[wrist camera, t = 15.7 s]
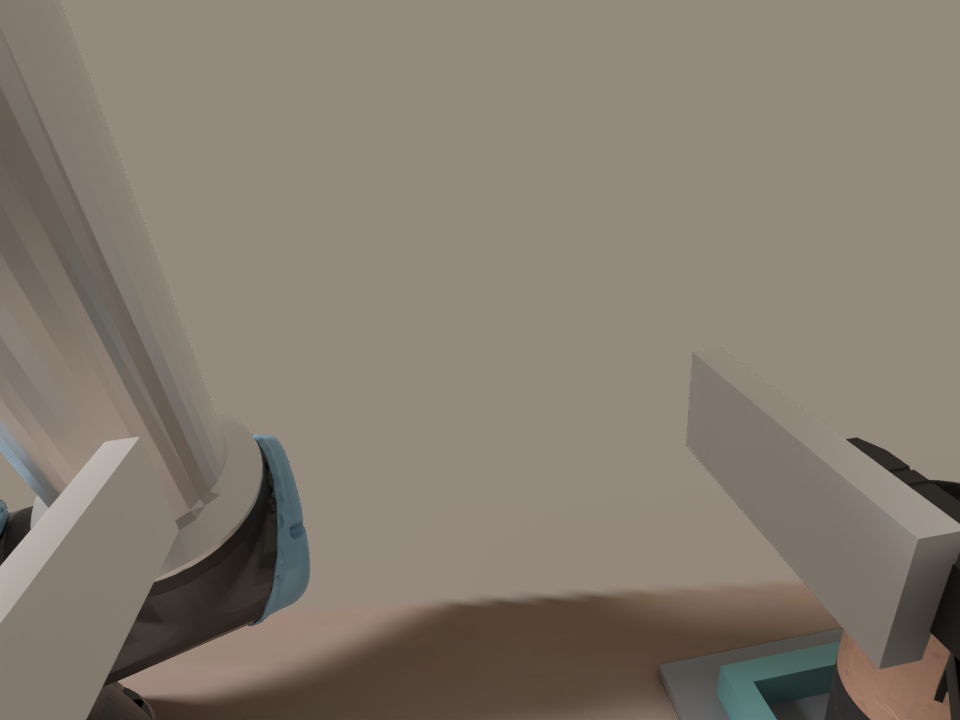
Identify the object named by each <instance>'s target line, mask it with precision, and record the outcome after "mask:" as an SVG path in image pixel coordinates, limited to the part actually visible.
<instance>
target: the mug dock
mask: <svg viewBox="0 0 960 720" xmlns="http://www.w3.org/2000/svg"><path fill="white" fill-rule="evenodd" d="M843 631H844V629H843V628H838V629H833V630H828V631H823V632H818V633H813V634H808V635H803V636H798V637H793V638H788V639H784V640H779V641H774V642H769V643H764V644H759V645H754V646H749V647H744V648H739V649H734V650H729V651H724V652H719V653H714V654H710V655H705V656H700V657H695V658H690V659H685V660H680V661H675V662H670V663H665V664H660V665H659V671H658V674H659V676H660V678H661V680H662V682H663V685H664V687H665V689H666V691H667V693H668V695H669V697H670V699H671V702H672V704H673V706H674V708H675V710H676V712H677V714H678V716H679V719H680V720H824V719H825V714H826V709H827V704H828V699H829V694H830V689H831V683H832V678H833V673H834V668H835V663H836V658H837V654H838V649H839V645H840V642H841V638H842V634H843Z"/></svg>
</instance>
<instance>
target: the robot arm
mask: <svg viewBox="0 0 960 720" xmlns="http://www.w3.org/2000/svg"><path fill="white" fill-rule="evenodd" d="M686 446H687V448H688V449H689V450H690V451H691V452H692V453H693V455H694V456H695V457H696V458H697V459H698V460H699V462H700V463H701V464H702V465H703V466H704V467H705V468H706V470H707V471H708V472H709V473H710V474H711V475H712V477H713V478H714V479H715V480H716V481H717V482H718V484H719V485H720V486H721V487H722V488H723V489H724V490H725V492H726V493H727V494H728V495H729V496H730V498H731V499H732V500H733V501H734V502H735V503H736V504H737V506H738V507H739V508H740V509H741V510H742V511H743V513H744V514H745V515H746V516H747V517H748V518H749V520H750V521H751V522H752V523H753V524H754V525H755V526H756V528H757V529H758V530H759V531H760V532H761V534H762V535H763V536H764V537H765V538H766V539H767V540H768V542H769V543H770V544H771V545H772V546H773V547H774V549H775V550H776V551H777V552H778V553H779V554H780V556H781V557H782V558H783V559H784V560H785V561H786V563H787V564H788V565H789V566H790V567H791V568H792V570H793V571H794V572H795V573H796V574H797V575H798V576H799V578H800V579H801V580H802V581H803V582H804V583H805V585H806V586H807V587H808V588H809V589H810V590H811V592H812V593H813V594H814V595H815V596H816V597H817V599H818V600H819V601H820V602H821V603H822V604H823V606H824V607H825V608H826V609H827V610H828V611H829V612H830V614H831V615H832V616H833V617H834V618H835V619H836V621H837V622H838V623H839V624H840V625H841V626H842V628H843V629H844V630H845V631H846V632H847V633H848V635H849V636H850V637H851V638H852V639H853V640H854V641H855V643H856V644H857V645H858V646H859V647H860V648H861V650H862V651H863V652H864V653H865V654H866V655H867V657H868V658H869V659H870V660H871V661H872V662H873V664H874V665H875V666H876V667H877V668H878V669H883V668H888V667H892V666H897V665H902V664H907V663H911V662H916V661H921V660H922V658H923V655H924V653H925V650H926V647H927V644H928V641H929V638H930V635H931V634H932V635H933V636H934V637H936V638H937V639H938V640H939V641H940V642H941V643H942V644H943V645H944V646H945V647H946V648H947V649H948V650H949V651H950V654H949V657H948V660H947V662H946V665H945V668H944V670H943V673H942V676H941V678H940V681H939V684H938V686H937V689H936V693H935V697H934V700H935V701H938V702H940V703H943V701H944V698H945V696H946V693H947V692H948V695H949V705H950V714H951V720H960V502H959V501H958V500H957V499H955V498H954V497H952V496H951V495H949V494H948V493H947V492H945V491H944V490H942V489H941V488H939V487H938V486H937V485H935V484H930V483H929V480H928V479H927V478H925V477H924V476H922V475H921V474H919V473H918V472H917V471H915V470H910V468H909V466H908V465H907V464H905V463H904V462H902V461H901V460H900V459H898V458H897V457H895V456H894V455H892V454H891V453H890V452H888V451H886V450H885V449H882V448H880V447H878V446H875V445H873V444H871V443H868V442H866V441H863V440H861V439H859V438H851V439H844V438H843V437H841V436H840V435H839V434H838V433H836V432H835V431H833V430H832V429H831V428H829V427H828V426H827V425H825V424H824V423H823V422H821V421H820V420H819V419H817V418H816V417H815V416H813V415H812V414H811V413H809V412H808V411H806V410H805V409H804V408H802V407H801V406H799V405H798V404H797V403H796V402H794V401H793V400H792V399H790V398H789V397H787V396H786V395H785V394H783V393H782V392H781V391H779V390H778V389H776V388H775V387H774V386H773V385H771V384H770V383H769V382H767V381H766V380H765V379H763V378H762V377H760V376H759V375H758V374H756V373H755V372H754V371H752V370H751V369H750V368H748V367H747V366H745V365H744V364H743V363H742V362H740V361H739V360H738V359H736V358H735V357H734V356H732V355H731V354H729V353H728V352H727V351H725V350H724V349H723V348H718V349H712V350H706V351H699V352H693V354H692V368H691V382H690V396H689V410H688V424H687V438H686ZM0 451H1V453H2V454H3V455H4V456H5V457H6V458H7V460H8V461H9V462H10V463H11V465H12V466H13V467H14V468H15V469H16V470H17V472H18V473H19V474H20V475H21V476H22V477H23V479H24V480H25V481H26V482H27V483H28V484H29V486H30V487H31V488H32V489H33V490H34V492H35V493H36V494H37V497H36V499H35V502H34V506H32V507H28V508H25V509H22V510H19V511H16V512H12V513H8V511H7V506H6V504H5V502H3V500H0V720H159V719H158V718H157V716H156V714H155V712H154V710H153V709H152V707H151V706H150V704H149V703H148V702H147V701H146V700H145V699H144V698H143V697H142V696H141V695H139V694H137V693H136V692H134V691H132V690H130V689H128V688H125V687H124V686H123V685H121V684H120V683H118V682H117V681H119V680H121V679H123V678H126V677H128V676H130V675H133V674H135V673H137V672H140V671H142V670H144V669H147V668H149V667H151V666H154V665H156V664H158V663H160V662H163V661H165V660H167V659H170V658H172V657H174V656H177V655H179V654H181V653H184V652H186V651H188V650H191V649H193V648H195V647H198V646H200V645H202V644H205V643H207V642H209V641H212V640H214V639H216V638H219V637H221V636H223V635H226V634H228V633H230V632H233V631H235V630H237V629H239V628H242V627H244V626H246V625H248V626H253V625H256V624H259V623H261V622H263V620H264V619H266V618H267V617H268V616H269V615H271V614H273V613H275V612H277V611H279V610H281V609H283V608H285V607H287V606H289V605H291V604H293V603H294V602H296V601H297V600H298V599H299V598H300V597H301V596H302V595H303V594H304V592H305V590H306V588H307V586H308V583H309V578H310V558H309V547H308V541H307V535H306V531H305V528H304V526H303V516H302V507H301V503H300V499H299V495H298V491H297V487H296V483H295V480H294V476H293V473H292V470H291V467H290V464H289V461H288V458H287V456H286V453H285V451H284V449H283V447H282V445H281V443H280V441H279V440H278V439H277V438H276V437H274V436H271V435H260V436H258V435H252V434H251V433H250V432H249V430H248V429H247V428H246V427H245V426H244V425H243V424H242V423H240V422H239V421H238V420H236V419H235V418H233V417H231V416H229V415H227V414H225V413H223V412H220V411H217V410H215V407H214V405H213V402H212V400H211V397H210V394H209V391H208V389H207V386H206V383H205V381H204V378H203V375H202V373H201V370H200V368H199V365H198V362H197V360H196V357H195V354H194V352H193V349H192V346H191V344H190V341H189V338H188V336H187V333H186V330H185V328H184V325H183V323H182V320H181V317H180V314H179V312H178V309H177V307H176V304H175V301H174V299H173V296H172V293H171V291H170V288H169V285H168V283H167V280H166V277H165V275H164V272H163V270H162V267H161V264H160V261H159V259H158V256H157V253H156V251H155V248H154V246H153V243H152V240H151V238H150V235H149V232H148V230H147V227H146V224H145V222H144V219H143V216H142V214H141V211H140V208H139V206H138V203H137V201H136V198H135V195H134V192H133V190H132V187H131V185H130V182H129V179H128V177H127V174H126V172H125V169H124V166H123V163H122V161H121V158H120V156H119V153H118V150H117V148H116V145H115V142H114V139H113V137H112V134H111V131H110V129H109V126H108V124H107V121H106V118H105V116H104V113H103V111H102V108H101V105H100V102H99V100H98V97H97V95H96V92H95V89H94V87H93V84H92V81H91V78H90V76H89V73H88V71H87V68H86V65H85V63H84V60H83V57H82V55H81V52H80V50H79V47H78V44H77V41H76V39H75V36H74V34H73V31H72V28H71V25H70V23H69V20H68V17H67V15H66V12H65V10H64V7H63V4H62V2H61V0H0Z"/></svg>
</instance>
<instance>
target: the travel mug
mask: <svg viewBox="0 0 960 720" xmlns="http://www.w3.org/2000/svg"><path fill="white" fill-rule="evenodd" d="M929 483H930V484H935V485H937V486H938V487H939V488H941V489H942V490H944V491H945V492H947V493H948V494H949V495H951V496H952V497H954V498H955V499H957V500H958V501H959V502H960V483H956V482H948V481H940V480H929ZM949 654H950V651H949V650H948V649H947V648H946V647H945V646H944V645H943V644H942V643H941V642H940V641H939V640H938V639H937V638H936V637H934V636H933V635H932V634H931V635H930V638H929V641H928V644H927V647H926V650H925V653H924V655H923V658H922V660H921V661H916V662H911V663H907V664H902V665H897V666H892V667H888V668H883V669H878V668H877V667H876V666H875V665H874V664H873V662H872V661H871V660H870V659H869V658H868V657H867V655H866V654H865V653H864V652H863V651H862V650H861V648H860V647H859V646H858V645H857V644H856V643H855V641H854V640H853V639H852V638H851V637H850V636H849V635H848V633H847V632H846V631H845V630H844V631H843V634H842V638H841V642H840V645H839V649H838V654H837V658H836V663H835V668H834V673H833V678H832V683H831V689H830V694H829V699H828V704H827V709H826V714H825V719H824V720H951V714H950V705H949V695H948V692H947V693H946V696H945V698H944V701H943V703H940V702H938V701H935V700H934V697H935V693H936V689H937V686H938V684H939V681H940V678H941V676H942V673H943V670H944V668H945V665H946V662H947V660H948V657H949Z"/></svg>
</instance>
